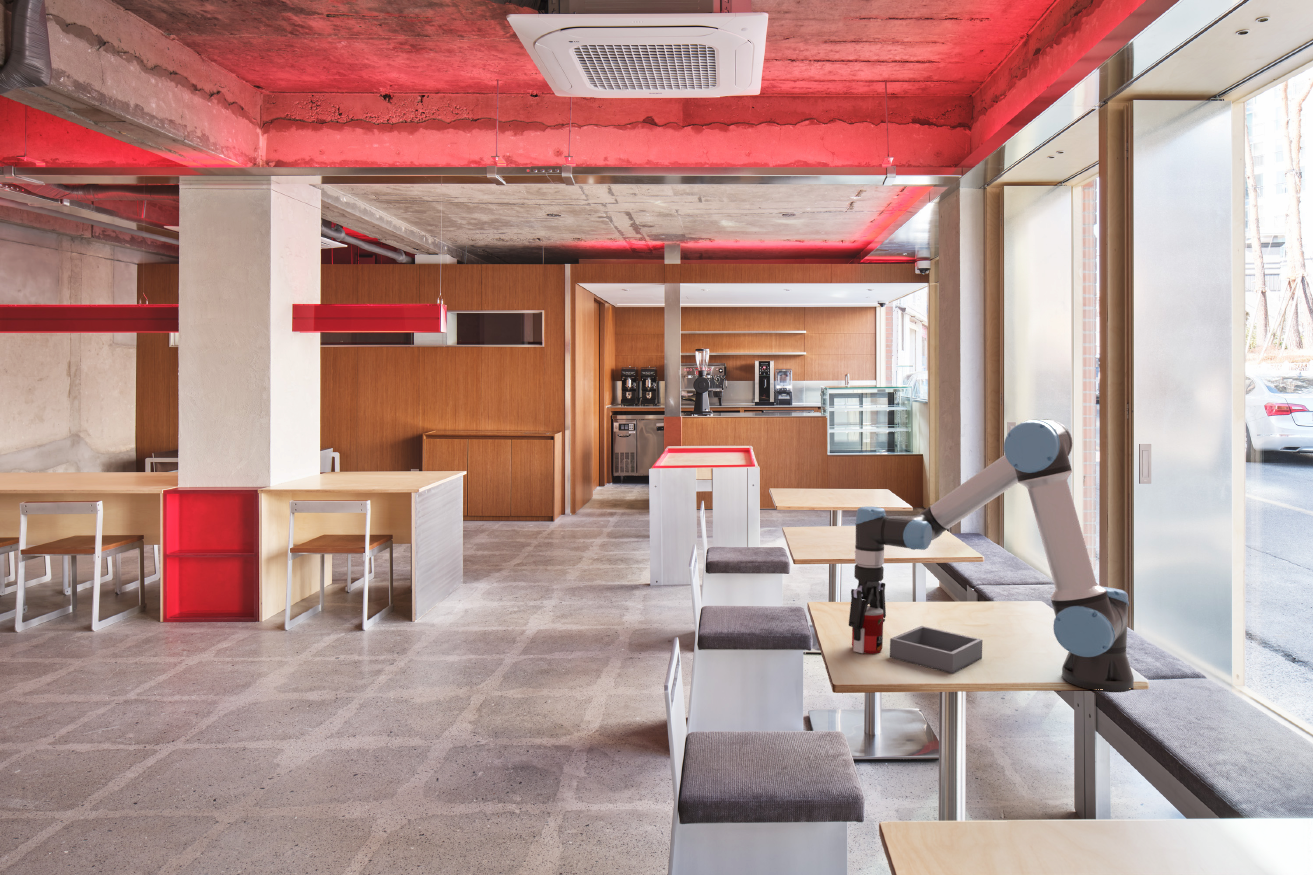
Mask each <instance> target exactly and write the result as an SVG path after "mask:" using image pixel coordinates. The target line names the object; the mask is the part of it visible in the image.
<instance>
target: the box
mask: <svg viewBox="0 0 1313 875" xmlns="http://www.w3.org/2000/svg"><path fill="white" fill-rule="evenodd" d="M889 642H890V643H889V658H890V659H894V660H897V661H898V660H899V661H902V662H906V663H908V664H913V665H916V664H918V665H917V666H920V665H921V667H925V668H928V669H932V670H935V671H940V672H944V673H947V674H951V675H954V674H955V673H957V672H959V671H961V670H962V669H965V668H967V667H968V666H970V665H973V664H974V663H977V662H978V661H980V660H982V659H983V639H981V638H977V637H973V636H968V635H964V634H960V633H955V632H950V631H945V630H941V629H937V628H933V627H929V626H924V625H921V626H917V627H915V628H913V629H910V630H908V631H905V632H903V633H901V634H899V635H896V636H893V637H891V638H890V639H889Z"/></svg>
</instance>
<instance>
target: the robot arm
mask: <svg viewBox="0 0 1313 875" xmlns="http://www.w3.org/2000/svg"><path fill="white" fill-rule="evenodd" d="M1072 449H1073V438H1072V434H1071V433H1070V431H1069V429H1068V428H1067V427H1066V426H1065V425H1064V424H1063V423H1061V422H1059V421H1056V420H1053V419H1047V418H1045V419H1031V420H1026V421H1024V422H1020V423H1017V425H1015V426H1014V427H1012V428H1011V429H1010V430H1009V432H1008V433H1007V435H1006V436H1005V438H1004V442H1003V453H1004V455H1002V456H1001V457H999V458H998V459H996V460H995V461H994V462H992V463H991V464H989V465H988V466H986V467H985V468H983V469H981V470H980V471H979V472H978V473H976V474H975V475H973V476H972V477H970V478H969V479H967V480H966V481H965V482H963V483H961V484H960V485H959V486H957V487H956V488H954V489H953V490H951V491H950V492H949V493H947V494H946V495H944V496H943V497H942V498H940V499H939V500H937V501H935V502H934V503H933V504H931V505H930V506H929V507H927V508H926V509H923V510H922V511H921V512H919V513H917V514H915V515H913V516H908V517H906V518H905V517H904V518H902V517H891V516H887V514H886V510H885V509H884V508H883V507H880V506H879V507H878V506H860V507H859V508H857V510H856V514H855V523H854V525H855V545H854V546H855V547H854V548H855V549H854V554H855V555H854V562H855V565H854V574H853V575H854V579H856V580H857V581H858V584H857V588H855V589H853V588H851V590H850V599H851V600H850V608H849V617H848V626H849V627H851V628H852V627H853V628H854V645H853V647H852V649H853V650H852V652H857V653H859V654H865V653H864V628H862V627H863V623H864V619H865V612H866V610H867V606H870V607H872V608H877V609H878V608H880V609H882V610H883V623H885V621H886V616H887V612H886V609H887V608H886V592H885V590H886V583H885V582H881V581H883V580H884V570H885V569H884V568H885V567H884V566H883V565H884V564H885V546H890V547H897V548H905V549H909V550H921V551H922V550H923V551H924V550H925V551H926V549H928V548H929V546H930V545H931V544H932V541H934V540H936V539H937V538H939V537H940V536H941V535H942V534H943V533H944V532H946V531H947V530H948V529H950V528H951V527H953V526H954V525H955V526H956V524H958V523H959V522H960V521H962V520H964V519H966V517H968V516H970V515H972V514H973V513H974V512H976V511H977V510H979V509H980V508H982V507H983V506H985V505H986V504H988V503H990V502H991V501H993V500H994V499H996V498H997V497H999V496H1000V495H1002V494H1003V493H1005V492H1006V491H1008V490H1010V489H1011V488H1012V487H1014V486H1015V485H1017V484H1020V485H1021V486H1023V487H1024V488H1026V489H1027V492H1028V496H1029V499H1030V503H1031V506H1032V511H1033V514H1034V517H1035V520H1036V524H1037V528H1038V531H1039V535H1040V538H1041V542H1042V543H1041V544H1042V545H1043V550H1044V552H1045V557H1046V560H1047V564H1048V567H1049V572H1050V575H1051V577H1052V582H1053V585H1054V592H1053V593H1052V595H1051V596H1050V601H1051V604H1052V608H1053V609H1052V610H1053V612H1054V616H1055V617H1054V619H1053V629H1052V630H1053V633H1054V636H1055V639H1056V640H1057V642H1058V644H1059V645H1060V646H1061V647H1062V648H1063V649H1064V650H1066V651H1067V655H1066V658H1065V660H1064V661H1063V664H1062V667H1061V668H1062V669H1061V671H1062V672H1061V677H1062V679H1063V680H1065V681H1066V682H1068V683H1070V684H1071V685H1074V686H1077V687H1080V688H1082V689H1086V690H1090V689H1097V690H1094V691H1097V692H1104V693H1126V692H1129V691H1131V690H1133V689H1134V681H1135V679H1134V674H1133V671H1132V668H1131V665H1130V661H1129V659H1128V657H1127V646H1128V645H1127V641H1128V622H1129V621H1128V618H1129V617H1128V616H1129V615H1128V614H1129V606H1130V602H1129V594H1128V593H1127V592H1126V591H1125V590H1123V589H1118V588H1114V587H1107V586H1102V585H1100V584H1099V583H1098V582H1097V581H1096V576H1095V573H1094V570H1093V567H1092V566H1093V565H1092V563H1091V559H1090V556H1089V553H1088V552H1089V551H1088V549H1087V548H1088V547H1087V545H1086V541H1085V538H1084V535H1083V532H1082V528H1081V524H1080V520H1079V517H1078V514H1077V510H1076V507H1075V503H1074V501H1073V500H1074V499H1073V496H1072V492H1071V489H1070V486H1069V482H1068V479H1069V477H1070V475H1072V474H1071V473H1073V470H1072V466H1071V462H1070V459H1069V456H1070V454H1071V452H1072ZM1129 688H1133V689H1129ZM1098 689H1099V690H1098ZM1100 689H1103V690H1100Z"/></svg>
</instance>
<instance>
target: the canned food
mask: <svg viewBox="0 0 1313 875" xmlns="http://www.w3.org/2000/svg"><path fill="white" fill-rule="evenodd" d="M883 619H884V618H883V610H882V609H880V608H878V609H877V608H872V607H870V605H868V606H867V610H866V612H865V619H864V623H863V627H862V628H864V653H863V654H867V655H868V654H870V655H873V654H879V653H881V652H882V650H883V643H884V642H883V639H884V622H883ZM851 628H852V630H851V634H852V635H851V646H852V648H853V645H854V628H853V627H851Z"/></svg>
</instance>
